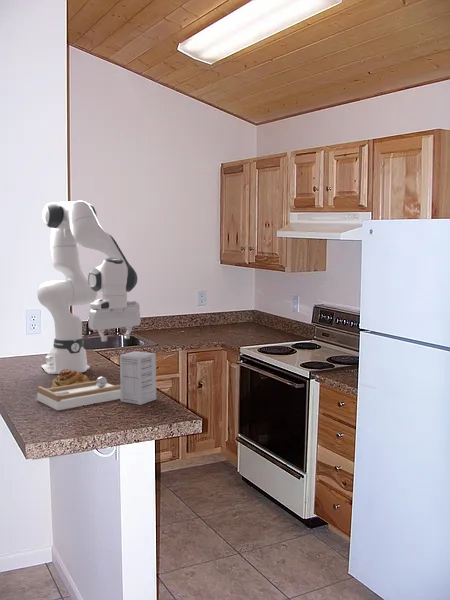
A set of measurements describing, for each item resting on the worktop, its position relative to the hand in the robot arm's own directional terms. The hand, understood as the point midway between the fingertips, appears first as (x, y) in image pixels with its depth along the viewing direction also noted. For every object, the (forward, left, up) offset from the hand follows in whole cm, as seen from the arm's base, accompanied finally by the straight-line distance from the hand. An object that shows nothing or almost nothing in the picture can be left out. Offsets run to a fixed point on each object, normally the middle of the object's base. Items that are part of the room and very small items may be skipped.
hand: (115, 340), depth 233 cm
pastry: (-17, -9, -20) cm, 28 cm away
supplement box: (+14, +1, -20) cm, 25 cm away
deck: (0, -14, -20) cm, 24 cm away
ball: (0, -6, -15) cm, 16 cm away
